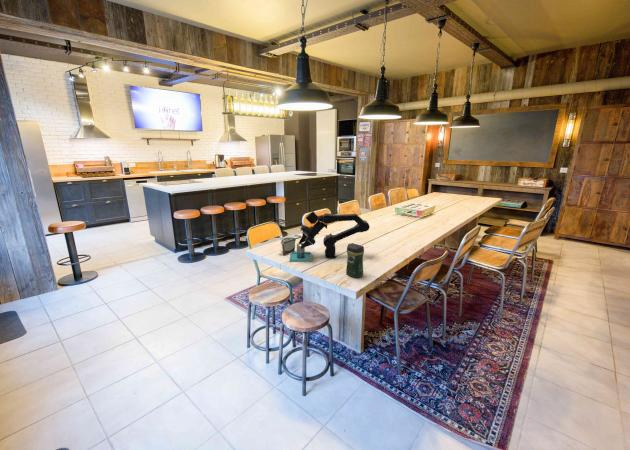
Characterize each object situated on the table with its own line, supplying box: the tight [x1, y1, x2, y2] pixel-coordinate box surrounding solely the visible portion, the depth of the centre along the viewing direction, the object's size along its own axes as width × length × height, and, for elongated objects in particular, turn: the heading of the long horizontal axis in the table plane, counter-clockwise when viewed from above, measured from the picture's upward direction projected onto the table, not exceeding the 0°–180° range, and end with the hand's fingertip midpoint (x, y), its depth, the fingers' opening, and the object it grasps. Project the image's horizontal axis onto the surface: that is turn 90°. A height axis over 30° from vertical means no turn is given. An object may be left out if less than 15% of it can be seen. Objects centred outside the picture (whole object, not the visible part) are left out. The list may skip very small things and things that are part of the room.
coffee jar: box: [345, 242, 365, 278], centre depth 168 cm, size 10×8×19 cm
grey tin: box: [296, 242, 306, 259], centre depth 195 cm, size 5×5×9 cm
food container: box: [280, 236, 297, 256], centre depth 204 cm, size 12×6×10 cm, turn 141°
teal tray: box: [289, 251, 312, 263], centre depth 196 cm, size 14×14×2 cm
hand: (300, 245), depth 194 cm, fingers open, 9 cm apart
